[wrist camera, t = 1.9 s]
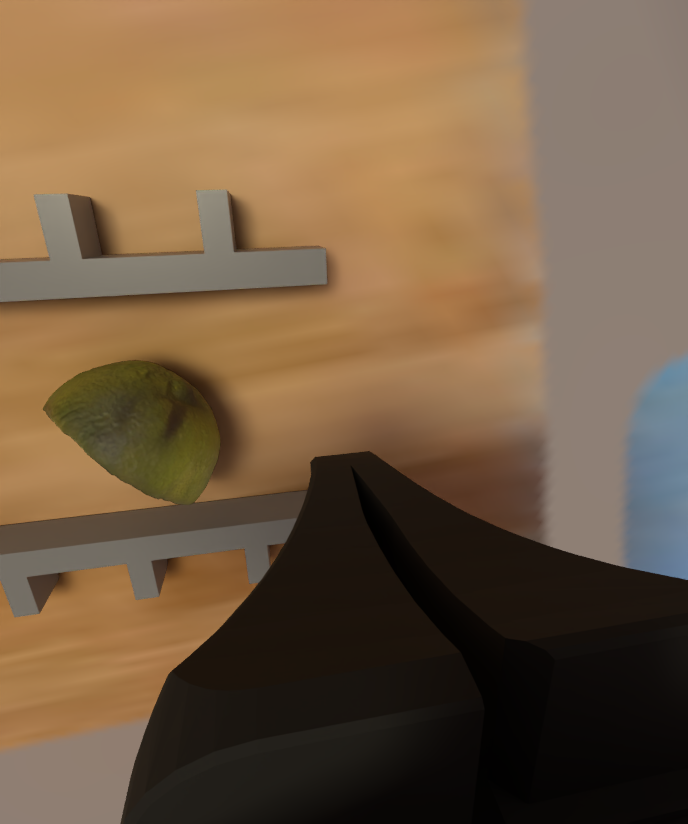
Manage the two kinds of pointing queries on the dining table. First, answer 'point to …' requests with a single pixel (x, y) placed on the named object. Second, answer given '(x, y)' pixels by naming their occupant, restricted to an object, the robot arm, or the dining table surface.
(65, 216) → the grey u-shaped block
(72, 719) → the dining table surface
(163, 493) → the lime
